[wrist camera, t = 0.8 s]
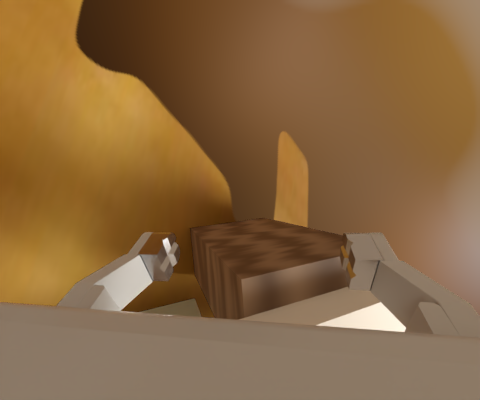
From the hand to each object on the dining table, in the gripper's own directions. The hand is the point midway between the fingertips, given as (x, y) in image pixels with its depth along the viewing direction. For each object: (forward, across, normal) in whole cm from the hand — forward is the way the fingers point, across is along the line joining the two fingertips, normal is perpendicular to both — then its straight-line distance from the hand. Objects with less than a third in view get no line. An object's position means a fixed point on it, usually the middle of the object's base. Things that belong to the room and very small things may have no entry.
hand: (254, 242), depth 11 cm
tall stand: (+28, +10, +27) cm, 40 cm away
